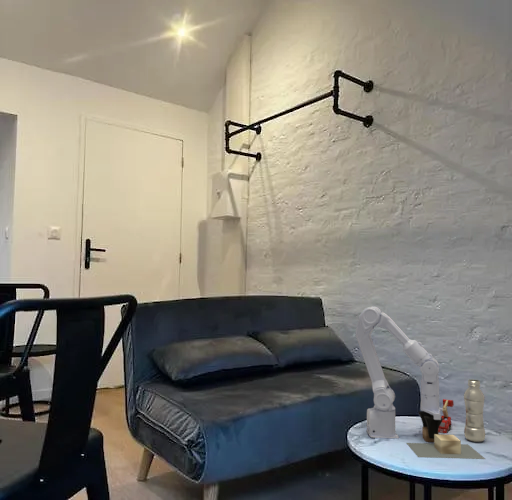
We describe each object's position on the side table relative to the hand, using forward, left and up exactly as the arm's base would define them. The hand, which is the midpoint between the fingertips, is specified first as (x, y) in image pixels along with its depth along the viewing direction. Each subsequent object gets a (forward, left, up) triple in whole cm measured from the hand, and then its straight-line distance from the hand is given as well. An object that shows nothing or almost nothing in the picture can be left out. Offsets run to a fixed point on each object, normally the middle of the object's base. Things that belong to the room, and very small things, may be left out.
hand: (430, 436), depth 161 cm
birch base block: (+2, -10, -1) cm, 10 cm away
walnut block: (0, 0, -2) cm, 2 cm away
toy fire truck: (+10, +14, -2) cm, 17 cm away
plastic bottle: (+15, +1, -2) cm, 15 cm away
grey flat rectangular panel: (+1, -10, -2) cm, 10 cm away
